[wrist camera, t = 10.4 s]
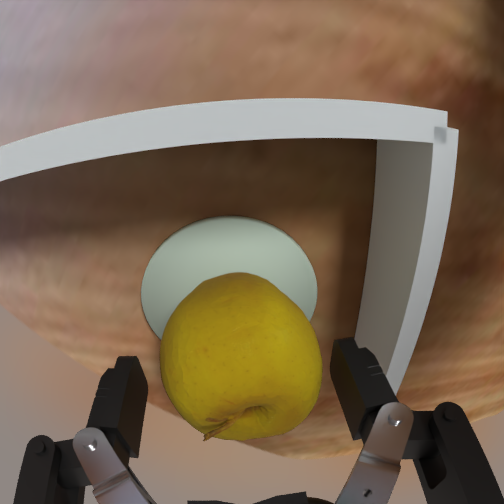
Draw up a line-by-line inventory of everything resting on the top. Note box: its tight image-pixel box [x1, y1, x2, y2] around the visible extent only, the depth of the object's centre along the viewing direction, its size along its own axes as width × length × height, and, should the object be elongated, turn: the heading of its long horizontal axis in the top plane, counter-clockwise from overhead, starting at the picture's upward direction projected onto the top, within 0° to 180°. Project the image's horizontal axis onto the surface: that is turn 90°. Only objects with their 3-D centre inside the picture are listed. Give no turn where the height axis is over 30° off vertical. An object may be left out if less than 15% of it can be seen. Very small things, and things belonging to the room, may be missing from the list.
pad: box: [141, 216, 317, 339], centre depth 16 cm, size 9×9×1 cm
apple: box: [160, 272, 323, 441], centre depth 12 cm, size 6×6×8 cm
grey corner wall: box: [0, 98, 459, 396], centre depth 13 cm, size 23×15×4 cm, turn 93°
